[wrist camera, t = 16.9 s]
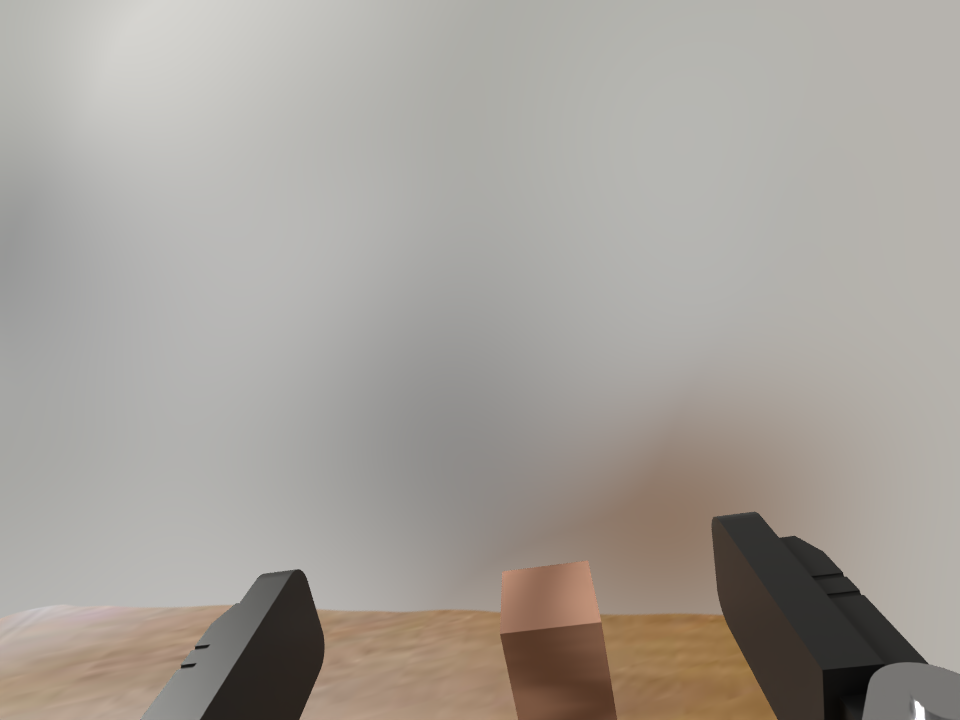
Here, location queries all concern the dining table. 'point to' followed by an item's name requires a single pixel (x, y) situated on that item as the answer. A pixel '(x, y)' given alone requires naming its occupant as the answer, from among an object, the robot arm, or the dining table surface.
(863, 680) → the robot arm
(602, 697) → the square peg
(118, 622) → the dining table surface
